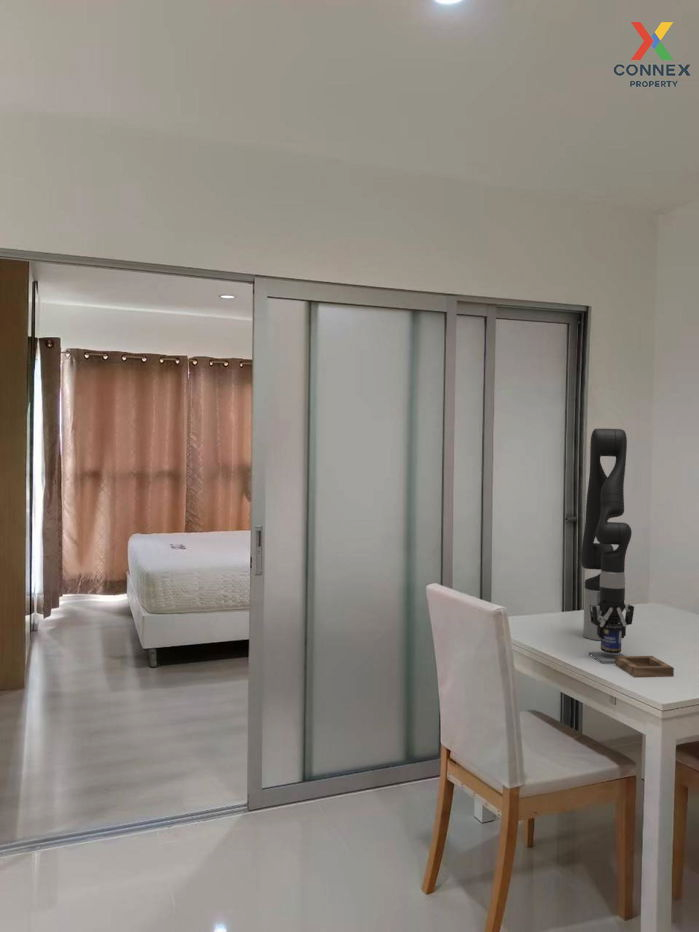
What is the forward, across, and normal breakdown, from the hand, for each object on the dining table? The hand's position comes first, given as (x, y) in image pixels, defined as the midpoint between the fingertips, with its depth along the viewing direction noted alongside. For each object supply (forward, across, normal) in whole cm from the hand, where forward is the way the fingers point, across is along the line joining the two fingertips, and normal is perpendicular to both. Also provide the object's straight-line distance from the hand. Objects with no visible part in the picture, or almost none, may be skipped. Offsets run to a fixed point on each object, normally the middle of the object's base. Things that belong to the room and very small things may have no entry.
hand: (611, 637), depth 227 cm
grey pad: (+7, 0, 0) cm, 7 cm away
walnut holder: (+7, -4, +12) cm, 14 cm away
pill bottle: (+4, 0, 0) cm, 4 cm away
